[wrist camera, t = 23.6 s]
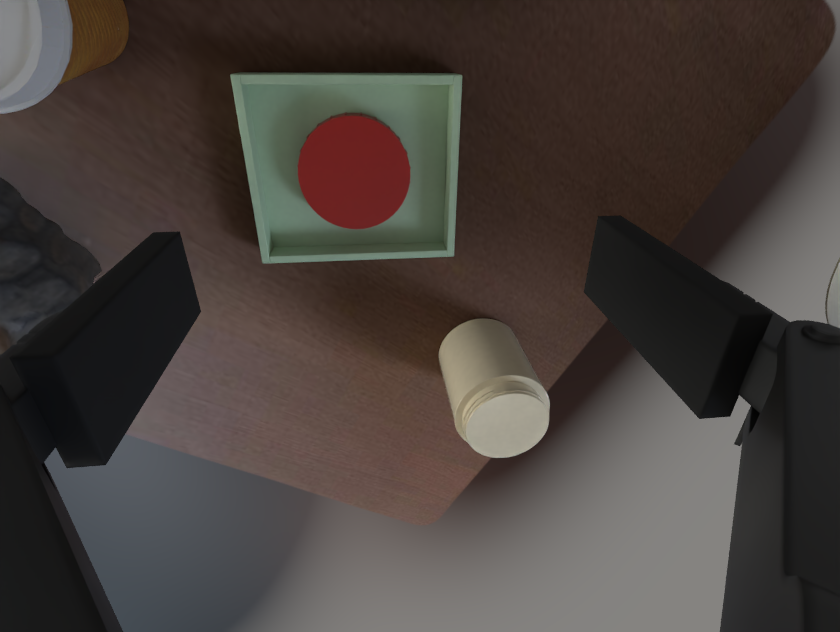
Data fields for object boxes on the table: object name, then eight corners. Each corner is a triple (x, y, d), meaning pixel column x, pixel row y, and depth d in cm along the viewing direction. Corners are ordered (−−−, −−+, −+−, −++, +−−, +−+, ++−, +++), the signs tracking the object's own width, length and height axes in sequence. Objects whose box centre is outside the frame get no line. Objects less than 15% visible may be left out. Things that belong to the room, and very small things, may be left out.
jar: (522, 316, 45) (564, 383, 36) (513, 382, 49) (549, 459, 40) (439, 320, 44) (460, 390, 35) (437, 387, 48) (455, 467, 39)
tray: (455, 73, 34) (462, 74, 32) (448, 245, 41) (454, 256, 38) (238, 72, 32) (229, 74, 30) (267, 251, 39) (262, 263, 37)
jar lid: (276, 147, 35) (273, 152, 33) (374, 89, 33) (375, 91, 32) (338, 240, 39) (337, 248, 37) (427, 190, 37) (430, 197, 36)
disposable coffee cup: (123, -91, 28) (-16, -173, 17) (176, 88, 32) (91, 108, 22) (-48, -82, 27) (-299, -161, 17) (31, 99, 32) (-126, 125, 21)
